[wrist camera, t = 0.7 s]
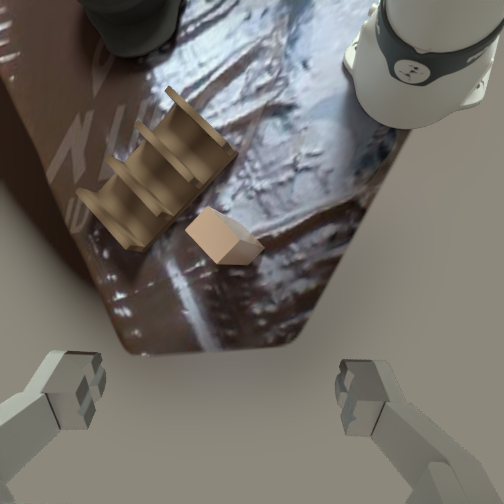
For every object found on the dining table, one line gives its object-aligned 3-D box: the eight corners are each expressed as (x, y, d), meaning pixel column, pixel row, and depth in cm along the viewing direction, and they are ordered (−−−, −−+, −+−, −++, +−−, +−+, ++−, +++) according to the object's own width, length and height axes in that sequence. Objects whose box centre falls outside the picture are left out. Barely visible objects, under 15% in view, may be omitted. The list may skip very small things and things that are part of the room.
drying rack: (238, 153, 50) (228, 139, 45) (144, 253, 53) (124, 251, 47) (185, 102, 53) (170, 84, 47) (98, 200, 55) (73, 193, 50)
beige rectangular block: (265, 248, 49) (240, 239, 34) (248, 265, 49) (216, 264, 35) (241, 224, 50) (207, 205, 35) (225, 241, 50) (184, 229, 36)
